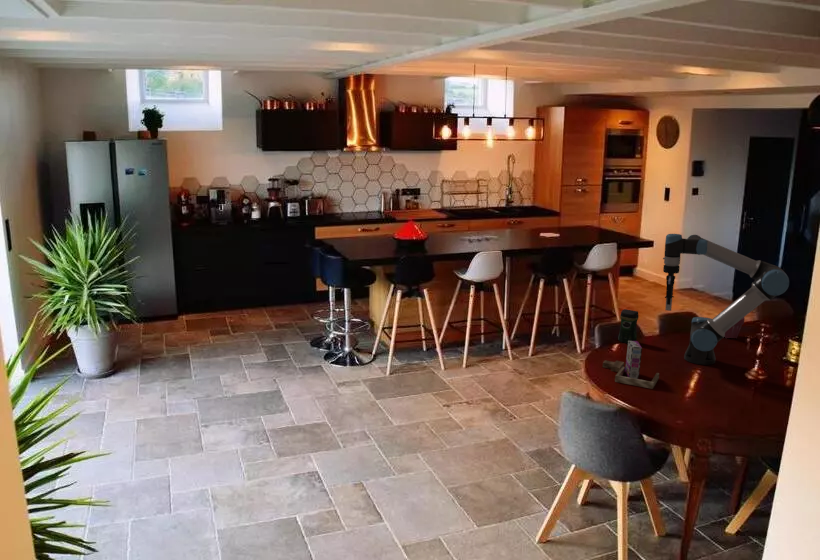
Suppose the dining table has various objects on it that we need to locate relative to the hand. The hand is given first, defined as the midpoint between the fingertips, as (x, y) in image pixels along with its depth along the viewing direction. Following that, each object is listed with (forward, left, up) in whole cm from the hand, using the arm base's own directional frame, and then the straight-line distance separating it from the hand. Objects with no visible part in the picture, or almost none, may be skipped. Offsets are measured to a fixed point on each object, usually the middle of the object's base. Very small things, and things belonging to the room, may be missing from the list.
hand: (668, 310), depth 349 cm
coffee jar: (+24, -28, -29) cm, 47 cm away
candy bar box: (+10, +28, -29) cm, 41 cm away
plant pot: (-25, -71, -29) cm, 80 cm away
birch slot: (+6, +32, -29) cm, 43 cm away
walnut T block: (+20, +21, -29) cm, 41 cm away
